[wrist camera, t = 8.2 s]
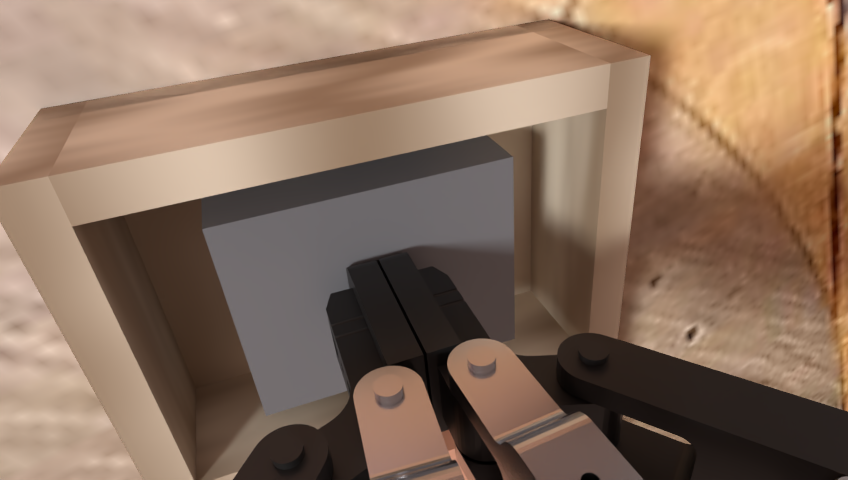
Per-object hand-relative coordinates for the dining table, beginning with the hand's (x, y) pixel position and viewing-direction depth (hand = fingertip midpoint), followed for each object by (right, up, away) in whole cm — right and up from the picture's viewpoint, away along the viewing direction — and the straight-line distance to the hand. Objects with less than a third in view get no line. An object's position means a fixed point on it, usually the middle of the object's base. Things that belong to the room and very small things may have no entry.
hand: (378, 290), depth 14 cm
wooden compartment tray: (0, -5, +8) cm, 9 cm away
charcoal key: (-1, +1, +2) cm, 2 cm away
